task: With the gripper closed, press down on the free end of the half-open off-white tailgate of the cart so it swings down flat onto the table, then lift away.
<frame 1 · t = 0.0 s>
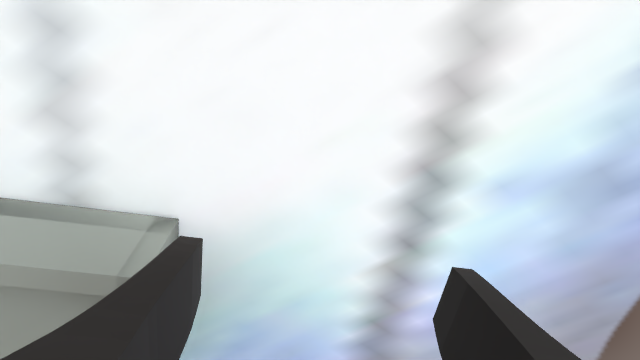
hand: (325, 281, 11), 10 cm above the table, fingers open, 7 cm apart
cart bed: (39, 283, 23), on the table
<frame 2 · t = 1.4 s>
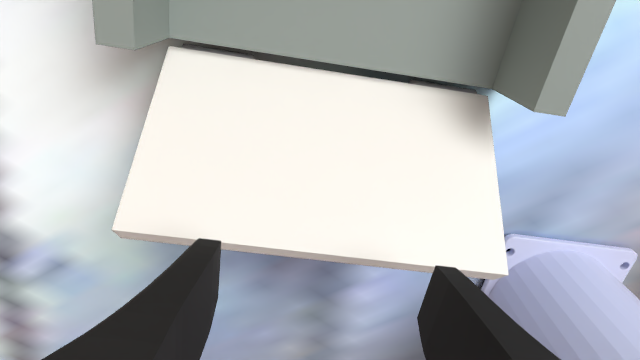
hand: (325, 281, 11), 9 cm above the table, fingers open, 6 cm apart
tailgate: (326, 153, 16), point 3 cm above the table, hinge at 50.0°
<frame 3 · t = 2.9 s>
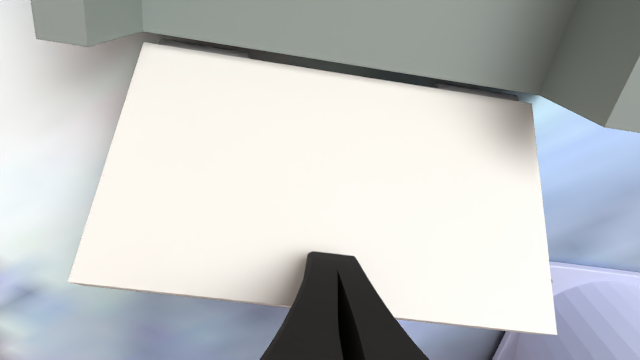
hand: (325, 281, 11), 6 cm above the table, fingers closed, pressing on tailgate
tailgate: (334, 176, 13), point 3 cm above the table, hinge at 46.9°, touching gripper
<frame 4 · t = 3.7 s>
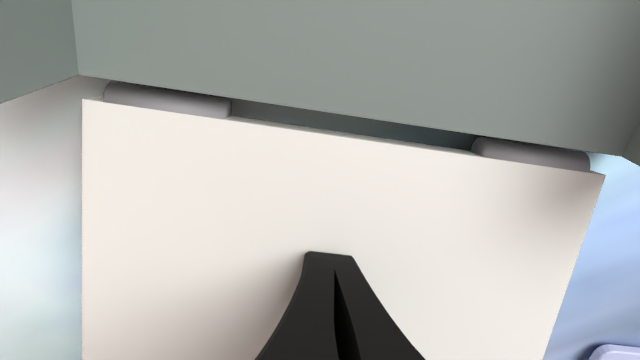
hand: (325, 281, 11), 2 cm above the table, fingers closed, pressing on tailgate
tailgate: (334, 259, 12), point 1 cm above the table, hinge at 10.6°, touching gripper
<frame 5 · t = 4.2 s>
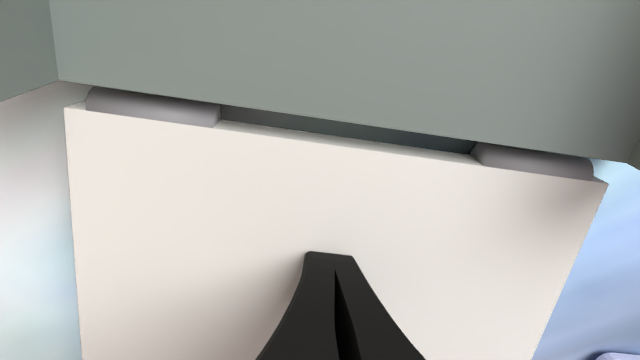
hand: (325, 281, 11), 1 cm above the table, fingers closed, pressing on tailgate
tailgate: (328, 263, 12), point 1 cm above the table, hinge at 4.7°, touching gripper
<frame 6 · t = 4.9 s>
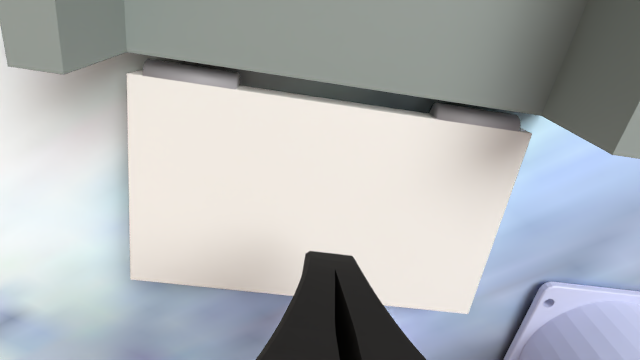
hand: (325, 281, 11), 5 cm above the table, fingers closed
tailgate: (321, 198, 15), point 1 cm above the table, hinge at 4.6°
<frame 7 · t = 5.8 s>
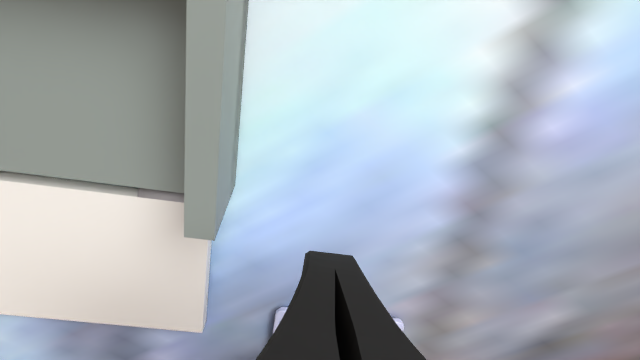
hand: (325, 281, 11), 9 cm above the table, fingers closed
tailgate: (73, 249, 21), point 1 cm above the table, hinge at 4.6°
cart bed: (58, 47, 17), on the table
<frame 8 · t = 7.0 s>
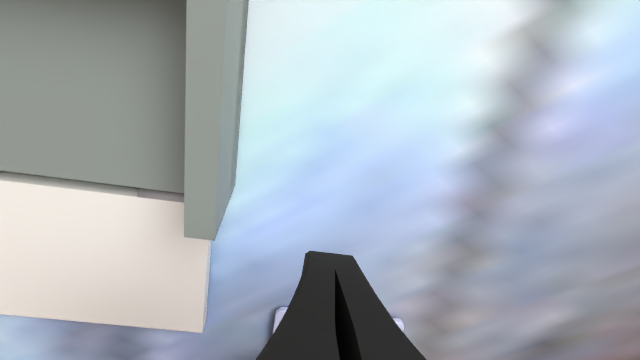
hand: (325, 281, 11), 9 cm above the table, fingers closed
tailgate: (73, 249, 21), point 1 cm above the table, hinge at 4.6°
cart bed: (58, 47, 17), on the table
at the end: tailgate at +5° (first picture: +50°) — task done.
